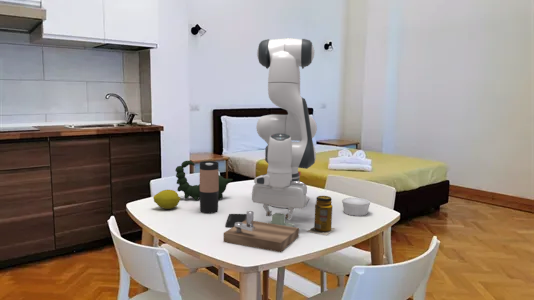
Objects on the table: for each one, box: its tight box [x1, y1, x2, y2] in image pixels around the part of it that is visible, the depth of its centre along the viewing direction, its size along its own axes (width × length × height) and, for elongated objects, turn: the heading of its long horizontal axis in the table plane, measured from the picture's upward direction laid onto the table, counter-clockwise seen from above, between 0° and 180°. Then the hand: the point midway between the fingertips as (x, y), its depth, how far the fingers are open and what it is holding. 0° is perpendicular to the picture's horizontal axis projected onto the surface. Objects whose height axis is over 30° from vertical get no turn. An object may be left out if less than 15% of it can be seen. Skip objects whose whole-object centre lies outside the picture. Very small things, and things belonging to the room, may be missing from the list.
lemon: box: [153, 189, 182, 210], centre depth 171 cm, size 11×8×8 cm
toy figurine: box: [174, 160, 234, 201], centre depth 188 cm, size 9×19×25 cm
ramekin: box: [341, 197, 371, 217], centre depth 171 cm, size 11×11×5 cm
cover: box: [268, 212, 295, 227], centre depth 150 cm, size 9×9×5 cm
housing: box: [223, 220, 300, 253], centre depth 138 cm, size 16×20×4 cm
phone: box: [225, 213, 247, 229], centre depth 157 cm, size 8×1×15 cm
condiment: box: [307, 195, 336, 236], centre depth 147 cm, size 7×8×12 cm
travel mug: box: [199, 160, 220, 215], centre depth 168 cm, size 8×8×20 cm
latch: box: [235, 210, 255, 231], centre depth 134 cm, size 7×3×6 cm, turn 54°
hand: (278, 217), depth 150 cm, fingers open, 6 cm apart
